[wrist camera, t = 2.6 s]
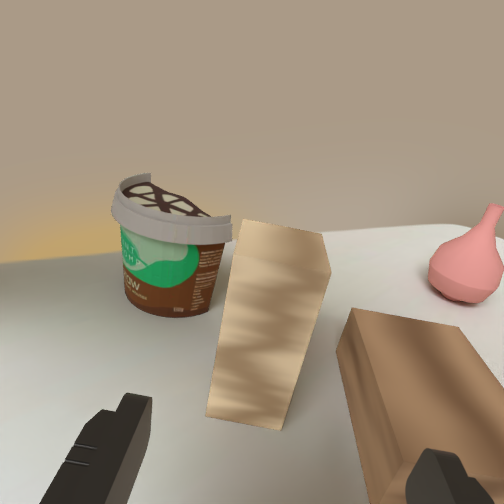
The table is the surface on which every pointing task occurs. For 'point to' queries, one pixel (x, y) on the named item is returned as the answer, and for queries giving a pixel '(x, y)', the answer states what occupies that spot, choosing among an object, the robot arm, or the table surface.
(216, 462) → the table surface
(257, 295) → the oak post
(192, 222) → the food container
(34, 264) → the table surface
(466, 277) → the pink vase
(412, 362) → the base block
